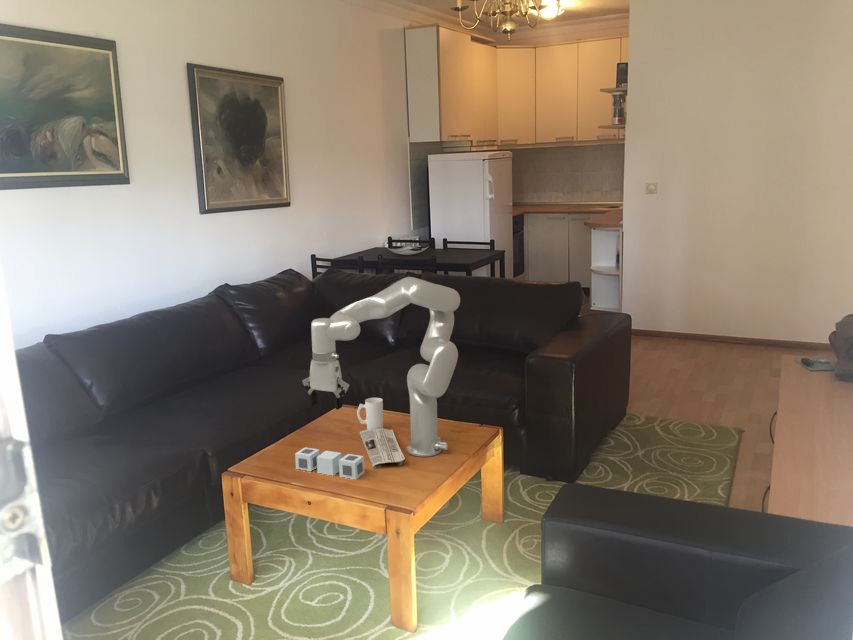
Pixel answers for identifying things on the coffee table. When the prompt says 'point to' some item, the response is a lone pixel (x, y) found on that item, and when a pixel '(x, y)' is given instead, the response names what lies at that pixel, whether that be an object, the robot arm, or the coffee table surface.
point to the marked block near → (351, 466)
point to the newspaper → (381, 447)
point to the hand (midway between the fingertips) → (326, 406)
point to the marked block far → (307, 459)
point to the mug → (372, 413)
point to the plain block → (328, 462)
